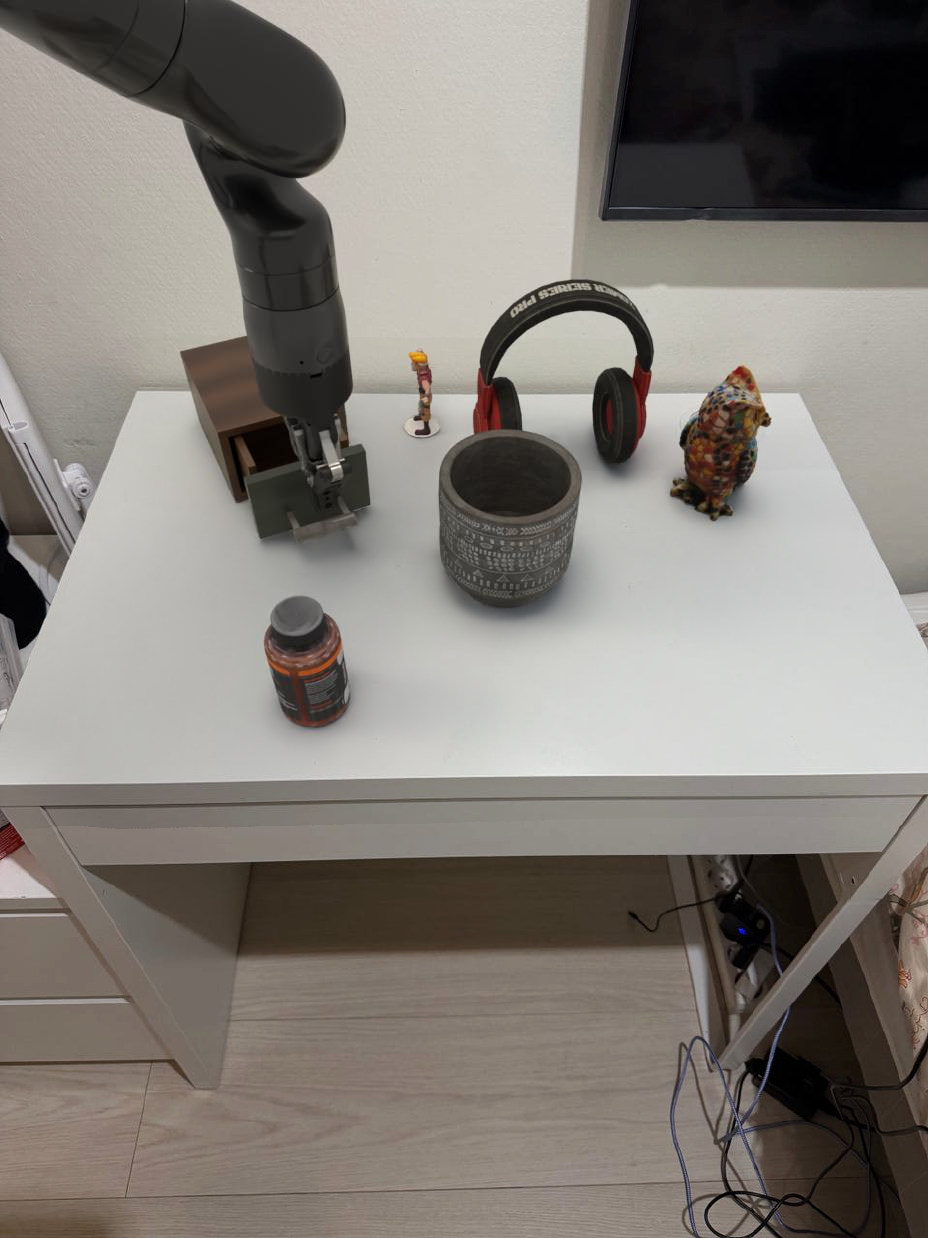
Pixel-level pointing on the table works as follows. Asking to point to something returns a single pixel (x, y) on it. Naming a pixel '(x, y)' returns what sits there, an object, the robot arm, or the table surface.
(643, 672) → the table surface
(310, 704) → the supplement bottle
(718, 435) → the figurine
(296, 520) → the drawer
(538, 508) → the planter
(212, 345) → the cabinet
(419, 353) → the action figure
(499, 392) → the headphones
